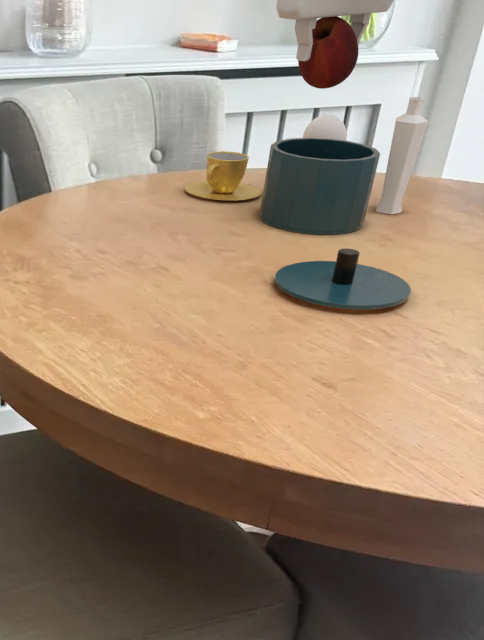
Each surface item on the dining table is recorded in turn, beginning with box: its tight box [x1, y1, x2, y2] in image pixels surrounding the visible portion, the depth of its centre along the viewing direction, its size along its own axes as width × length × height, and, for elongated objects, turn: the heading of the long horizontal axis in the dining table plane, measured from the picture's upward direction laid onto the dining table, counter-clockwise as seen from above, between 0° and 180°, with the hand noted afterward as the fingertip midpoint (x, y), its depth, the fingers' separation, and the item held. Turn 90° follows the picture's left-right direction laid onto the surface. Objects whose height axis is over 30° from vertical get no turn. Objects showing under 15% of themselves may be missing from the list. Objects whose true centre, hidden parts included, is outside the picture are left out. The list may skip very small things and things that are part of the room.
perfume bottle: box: [375, 96, 429, 215], centre depth 128 cm, size 5×4×15 cm
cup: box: [184, 150, 262, 201], centre depth 137 cm, size 12×12×5 cm
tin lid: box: [274, 248, 412, 311], centre depth 103 cm, size 16×16×5 cm
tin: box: [259, 137, 381, 236], centre depth 125 cm, size 15×15×10 cm
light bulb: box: [302, 114, 348, 141], centre depth 137 cm, size 7×7×11 cm
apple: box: [297, 16, 359, 90], centre depth 113 cm, size 7×8×8 cm
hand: (326, 57), depth 114 cm, fingers closed on apple, 8 cm apart
